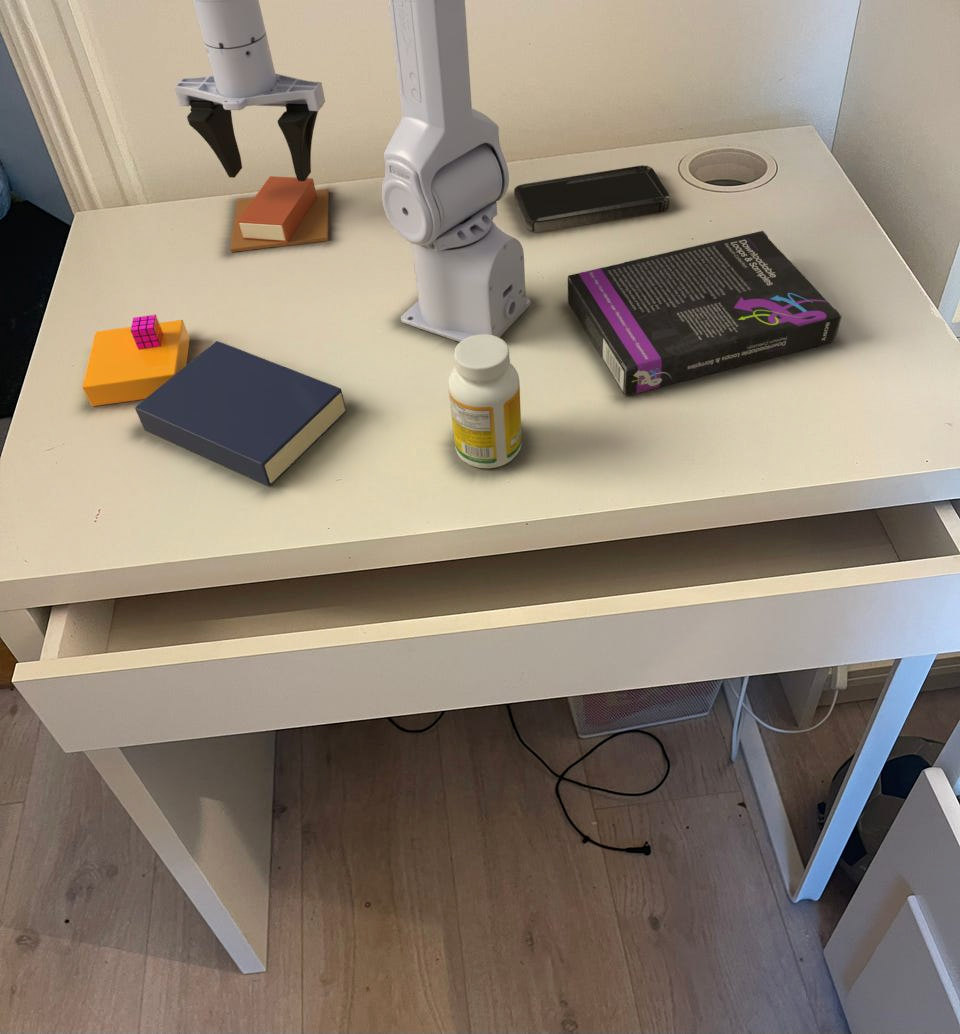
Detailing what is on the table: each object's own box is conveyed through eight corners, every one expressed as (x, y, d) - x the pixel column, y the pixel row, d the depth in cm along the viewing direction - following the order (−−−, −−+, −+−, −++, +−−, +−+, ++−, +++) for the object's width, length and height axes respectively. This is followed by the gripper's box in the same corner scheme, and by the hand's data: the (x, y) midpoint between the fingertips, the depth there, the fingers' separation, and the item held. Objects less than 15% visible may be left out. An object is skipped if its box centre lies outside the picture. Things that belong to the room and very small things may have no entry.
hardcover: (347, 412, 80) (342, 388, 78) (270, 488, 75) (262, 464, 73) (224, 363, 86) (216, 340, 84) (144, 430, 80) (133, 407, 78)
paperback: (287, 243, 98) (282, 223, 96) (242, 240, 99) (236, 221, 97) (317, 197, 103) (313, 178, 102) (274, 194, 104) (269, 176, 103)
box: (622, 402, 79) (837, 344, 81) (624, 369, 76) (846, 311, 79) (566, 306, 88) (761, 257, 90) (565, 274, 85) (766, 224, 88)
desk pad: (328, 191, 105) (327, 188, 105) (327, 240, 98) (327, 237, 98) (238, 202, 105) (237, 199, 104) (231, 252, 98) (230, 248, 98)
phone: (672, 200, 96) (527, 223, 95) (671, 210, 97) (527, 233, 96) (649, 163, 101) (511, 184, 100) (649, 173, 102) (512, 194, 101)
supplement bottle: (470, 479, 74) (459, 383, 66) (445, 436, 77) (432, 341, 70) (533, 457, 75) (529, 360, 68) (506, 416, 78) (500, 320, 71)
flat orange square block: (183, 394, 83) (167, 355, 80) (91, 406, 83) (72, 368, 80) (190, 338, 88) (176, 300, 85) (104, 350, 88) (86, 312, 85)
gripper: (144, 52, 86) (188, 190, 96) (292, 56, 83) (323, 198, 93) (177, 21, 91) (217, 156, 101) (319, 24, 88) (346, 162, 98)
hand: (269, 174), depth 97 cm, fingers open, 7 cm apart
